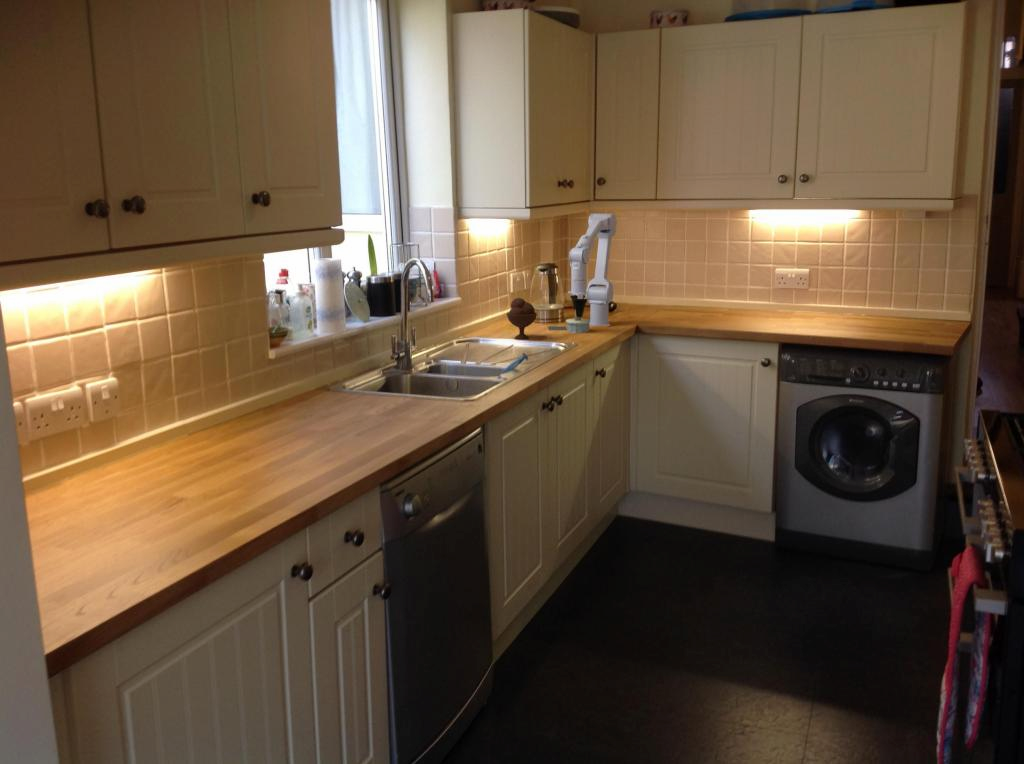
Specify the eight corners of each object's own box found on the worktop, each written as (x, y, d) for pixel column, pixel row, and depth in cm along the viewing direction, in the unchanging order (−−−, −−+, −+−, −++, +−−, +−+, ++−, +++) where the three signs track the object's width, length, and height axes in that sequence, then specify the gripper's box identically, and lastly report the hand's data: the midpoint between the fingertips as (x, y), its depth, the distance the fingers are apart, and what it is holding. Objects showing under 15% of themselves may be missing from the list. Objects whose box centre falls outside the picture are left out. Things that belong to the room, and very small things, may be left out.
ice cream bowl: (512, 341, 350) (512, 300, 347) (503, 336, 360) (503, 296, 357) (540, 340, 353) (540, 299, 349) (531, 335, 363) (531, 295, 360)
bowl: (567, 331, 372) (567, 320, 372) (587, 330, 373) (587, 320, 372) (568, 334, 365) (568, 324, 364) (589, 334, 365) (590, 323, 364)
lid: (565, 320, 372) (565, 308, 371) (588, 320, 372) (589, 308, 371) (566, 324, 364) (566, 311, 363) (590, 324, 363) (590, 311, 362)
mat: (547, 328, 380) (547, 326, 380) (565, 327, 380) (565, 326, 380) (549, 331, 371) (549, 330, 371) (567, 331, 372) (567, 330, 371)
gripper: (566, 277, 371) (566, 312, 374) (569, 282, 357) (569, 318, 360) (585, 277, 372) (584, 312, 374) (588, 281, 357) (588, 318, 360)
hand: (578, 315), depth 367 cm, fingers open, 7 cm apart
